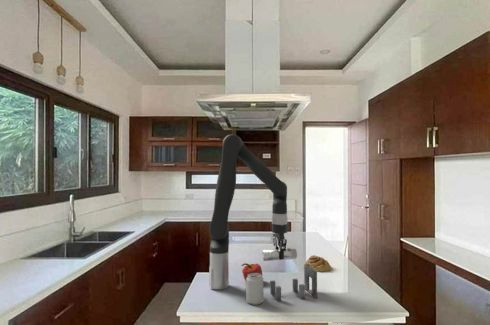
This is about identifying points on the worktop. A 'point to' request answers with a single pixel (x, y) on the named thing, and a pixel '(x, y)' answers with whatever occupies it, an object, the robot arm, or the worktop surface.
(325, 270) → the pastry
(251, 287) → the can
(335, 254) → the worktop surface
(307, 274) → the frame
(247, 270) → the vegetable
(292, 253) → the tube
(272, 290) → the grey metal blocks
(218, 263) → the robot arm
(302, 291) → the grey u-shaped bracket
